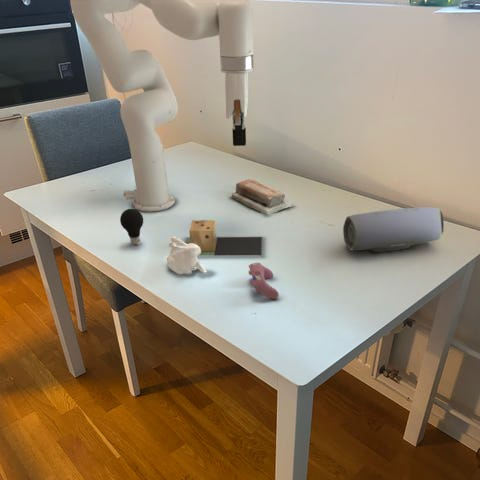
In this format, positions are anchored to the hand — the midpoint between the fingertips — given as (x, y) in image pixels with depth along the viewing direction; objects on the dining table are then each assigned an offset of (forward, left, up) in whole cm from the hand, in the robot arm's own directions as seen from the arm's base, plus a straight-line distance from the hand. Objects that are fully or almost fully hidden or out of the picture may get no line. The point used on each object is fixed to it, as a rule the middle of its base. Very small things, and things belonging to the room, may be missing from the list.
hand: (239, 144), depth 125 cm
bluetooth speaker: (+38, -11, -23) cm, 46 cm away
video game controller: (+6, -31, -23) cm, 39 cm away
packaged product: (+5, +18, -23) cm, 30 cm away
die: (-6, -11, -20) cm, 23 cm away
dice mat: (-4, -11, -23) cm, 26 cm away
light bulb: (-28, -9, -23) cm, 38 cm away
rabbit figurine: (-13, -23, -23) cm, 36 cm away
